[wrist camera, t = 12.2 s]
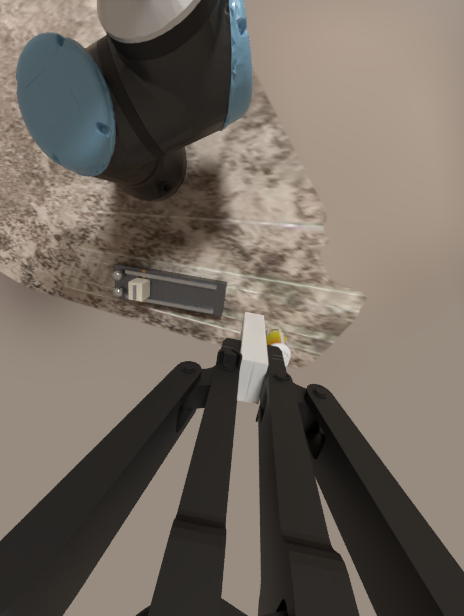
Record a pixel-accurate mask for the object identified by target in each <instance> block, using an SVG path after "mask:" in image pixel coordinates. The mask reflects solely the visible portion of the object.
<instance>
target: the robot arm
mask: <svg viewBox="0 0 464 616" xmlns="http://www.w3.org/2000/svg"><path fill="white" fill-rule="evenodd" d="M97 11H98V17H99V20H100V23H101V25H102V27H103V28H104V30H105V32H106V34H107V35H106V36H104V37H103V38H101V39H100V40H98V41H96V42H95V43H93V44H92V45H90V46H89V47H87V48H84V47H83V46H81V45H80V44H79V43H78V42H76V41H75V40H73V39H70V38H65V37H63V36H61V35H60V34H57V33H42V34H39V35H37V36H35V37H34V38H32V39H31V40H30V41H29V42H28V43H27V44H26V46H25V47H24V49H23V51H22V53H21V55H20V57H19V60H18V65H17V71H16V79H17V84H18V87H17V99H18V104H19V108H20V111H21V114H22V117H23V119H24V122H25V124H26V127H27V129H28V130H29V132H30V134H31V136H32V137H33V139H34V141H35V142H36V143H37V145H38V146H39V147H40V148H41V150H42V151H43V152H44V153H45V154H46V155H47V156H48V157H49V158H51V159H52V160H53V161H55V162H56V163H58V164H59V165H61V166H63V167H65V168H67V169H70V170H73V171H75V172H76V173H78V174H80V175H83V176H88V177H89V176H92V177H95V178H99V179H103V180H107V181H110V182H114V183H118V184H119V185H120V186H121V187H122V188H123V189H124V190H125V191H126V192H127V193H129V194H130V195H132V196H134V197H136V198H138V199H141V200H146V201H161V200H164V199H167V198H168V197H170V196H171V195H173V194H174V193H175V192H176V191H177V190H178V188H179V187H180V185H181V184H182V181H183V179H184V176H185V172H186V163H187V162H186V152H185V146H187V145H189V144H191V143H193V142H196V141H198V140H200V139H202V138H204V137H206V136H208V135H210V134H213V133H215V132H217V131H222V130H223V129H225V128H226V127H227V125H229V124H231V123H233V122H235V121H236V120H238V119H240V118H242V117H243V116H244V115H245V114H246V112H247V110H248V109H249V106H250V103H251V97H252V61H251V49H250V40H249V35H248V32H247V29H246V28H247V22H246V12H245V6H244V0H97ZM259 399H260V407H259V410H258V414H257V418H256V422H257V421H258V424H259V425H258V427H259V482H260V483H259V487H260V543H261V589H260V597H259V608H258V616H359V613H358V609H357V605H356V601H355V597H354V594H353V590H352V586H351V582H350V578H349V575H348V572H347V569H346V566H345V563H344V561H343V559H342V557H341V555H340V554H339V553H337V552H336V551H335V550H334V549H333V548H332V546H331V543H330V539H329V535H328V531H327V527H326V522H325V518H324V514H323V509H322V505H321V501H320V497H319V493H318V488H317V484H316V480H317V482H318V484H319V486H320V489H321V491H322V493H323V495H324V498H325V500H326V502H327V504H328V507H329V509H330V511H331V513H332V516H333V518H334V520H335V522H336V525H337V527H338V529H339V531H340V534H341V536H342V538H343V540H344V543H345V545H346V547H347V549H348V552H349V554H350V556H351V558H352V560H353V563H354V565H355V567H356V569H357V572H358V574H359V576H360V579H361V581H362V583H363V585H364V588H365V590H366V592H367V594H368V596H369V599H370V601H371V603H372V605H373V607H374V610H375V612H376V614H377V616H464V572H463V570H462V569H461V568H460V566H459V565H458V563H457V562H456V561H455V559H454V558H453V557H452V555H451V554H450V553H449V552H448V550H447V549H446V547H445V546H444V545H443V543H442V542H441V540H440V539H439V538H438V536H437V535H436V534H435V532H434V531H433V530H432V528H431V527H430V526H429V525H428V523H427V522H426V520H425V519H424V518H423V516H422V515H421V513H420V512H419V511H418V509H417V508H416V507H415V505H414V504H413V503H412V501H411V500H410V499H409V497H408V496H407V495H406V493H405V492H404V490H403V489H402V488H401V486H400V485H399V484H398V482H397V481H396V480H395V478H394V477H393V476H392V474H391V473H390V472H389V470H388V469H387V467H386V466H385V465H384V464H383V462H382V461H381V459H380V458H379V457H378V455H377V454H376V453H375V451H374V450H373V449H372V447H371V446H370V445H369V443H368V442H367V440H366V439H365V438H364V436H363V435H362V434H361V432H360V431H359V430H358V428H357V427H356V426H355V424H354V423H353V422H352V420H351V419H350V418H349V416H348V415H347V414H346V412H345V411H344V410H343V408H342V407H341V405H340V404H339V403H338V401H337V400H336V399H335V397H334V396H333V395H332V393H331V392H330V391H329V390H328V389H326V388H325V387H323V386H321V385H317V384H310V385H308V386H307V389H306V388H303V387H301V386H299V385H296V384H295V383H293V381H292V378H291V376H290V375H289V374H288V373H287V372H286V368H285V363H284V358H283V354H282V351H281V350H280V348H279V347H277V346H272V345H267V344H266V333H265V323H264V315H259V314H253V313H248V312H245V315H244V320H243V326H242V331H241V336H240V340H236V339H231V338H226V339H225V340H224V341H223V343H222V347H221V349H220V350H219V352H218V355H217V362H216V365H215V366H214V367H212V368H208V369H201V366H200V365H199V364H197V363H195V362H191V361H185V362H182V363H180V364H178V365H177V366H176V367H175V368H174V369H173V370H172V371H171V372H170V373H169V374H168V375H167V376H166V377H165V378H164V379H163V380H162V381H161V382H160V383H159V384H158V385H157V386H156V387H155V388H154V389H153V390H152V391H151V392H150V393H149V394H148V395H147V396H146V397H145V398H144V399H143V400H142V401H141V402H140V403H139V404H138V405H137V406H136V407H135V408H134V409H133V410H132V411H131V412H130V413H129V414H128V415H127V416H126V417H125V418H124V419H123V420H122V421H121V422H120V423H119V424H118V425H117V426H116V427H115V428H114V429H113V430H112V431H111V432H110V433H109V434H108V435H107V436H106V437H105V438H104V439H103V440H102V441H101V442H100V443H99V444H98V445H97V446H96V447H95V448H94V449H93V450H92V451H91V452H90V453H89V454H87V455H86V456H85V458H83V459H82V460H81V461H80V462H79V464H77V465H76V466H75V468H73V469H72V470H71V471H70V472H69V473H68V474H67V475H66V477H65V478H63V480H61V481H60V482H59V483H58V484H57V485H56V486H55V487H54V488H53V489H52V490H51V491H50V493H48V494H47V495H46V496H45V497H44V498H43V499H42V500H41V501H40V502H39V503H38V504H37V505H36V506H35V507H34V508H33V509H32V510H31V511H30V512H29V513H28V514H27V515H26V516H25V517H24V518H23V519H22V520H21V521H20V522H19V523H18V524H17V525H16V526H15V527H14V528H13V529H12V530H11V531H10V532H9V533H8V534H7V535H6V536H5V537H4V538H3V539H2V540H1V541H0V616H63V614H64V613H65V611H66V609H67V608H68V607H69V606H70V604H71V603H72V601H73V600H74V598H75V597H76V595H77V594H78V592H79V591H80V589H81V588H82V586H83V585H84V583H85V582H86V580H87V579H88V577H89V575H90V574H91V572H92V571H93V569H94V568H95V566H96V565H97V563H98V561H99V560H100V558H101V557H102V555H103V554H104V552H105V551H106V549H107V547H108V546H109V545H110V543H111V541H112V540H113V538H114V536H115V535H116V534H117V532H118V531H119V529H120V527H121V526H122V524H123V523H124V521H125V520H126V518H127V517H128V515H129V514H130V512H131V511H132V509H133V508H134V506H135V504H136V503H137V501H138V500H139V498H140V497H141V495H142V493H143V492H144V490H145V489H146V487H147V486H148V484H149V483H150V481H151V480H152V478H153V477H154V475H155V474H156V472H157V470H158V469H159V467H160V466H161V464H162V463H163V461H164V460H165V458H166V457H167V455H168V453H169V452H170V450H171V449H172V447H173V446H174V444H175V443H176V441H177V440H178V438H179V436H180V435H181V433H182V431H183V430H184V429H185V427H186V426H187V424H188V423H189V421H190V419H191V418H192V416H193V415H194V413H195V411H196V409H197V408H205V409H204V413H203V417H202V421H201V424H200V428H199V432H198V436H197V440H196V443H195V447H194V451H193V455H192V459H191V463H190V466H189V470H188V474H187V478H186V482H185V485H184V489H183V493H182V497H181V501H180V505H179V508H178V512H177V515H176V518H175V519H174V522H173V525H172V528H171V531H170V535H169V539H168V543H167V546H166V550H165V553H164V557H163V561H162V565H161V569H160V572H159V576H158V580H157V584H156V587H155V591H154V595H153V598H152V602H151V605H150V606H148V607H147V608H145V609H144V610H142V611H141V612H140V613H139V614H137V615H136V616H247V615H246V614H244V613H243V612H241V611H240V610H238V609H237V608H235V607H234V606H232V605H231V604H229V603H228V602H226V601H225V600H223V599H222V598H221V593H222V581H223V570H224V558H225V546H226V525H225V524H226V513H227V502H228V491H229V479H230V469H231V459H232V448H233V437H234V426H235V415H236V405H237V400H240V401H246V402H251V403H256V404H258V403H259ZM315 477H316V480H315Z"/></svg>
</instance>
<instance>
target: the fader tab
mask: <svg viewBox="0 0 464 616" xmlns="http://www.w3.org/2000/svg"><path fill="white" fill-rule="evenodd" d="M128 287H129V300H135V301H140V302H142V301H144V300H145V299H147V298H148V297H149V296H150V280H148V279H143V278H136V279H133V280H131V281H129V282H128Z"/></svg>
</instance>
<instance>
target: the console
mask: <svg viewBox="0 0 464 616" xmlns="http://www.w3.org/2000/svg"><path fill="white" fill-rule="evenodd" d="M112 278H113V279H114V280H115V289H113V291H112V293H113V295H114V296H115V297H117V298H122V299H128V300H129V287H128V282H129V281H131V280H133V279H136V278H143V279H148V280H150V296H149V297H148V298H147V299H145V300H144V301H142V302H144V303H150V304H155V305H161V306H166V307H172V308H177V309H183V310H188V311H194V312H200V313H205V314H211V315H216V316H222V313H223V307H224V300H225V293H226V287H227V282H224V281H218V280H213V279H207V278H201V277H196V276H190V275H184V274H179V273H173V272H167V271H162V270H156V269H150V268H145V267H139V266H133V265H128V264H122V263H117V264H114V272H113V273H112ZM133 301H135V300H133ZM139 302H140V301H139Z"/></svg>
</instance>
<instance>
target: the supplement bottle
mask: <svg viewBox="0 0 464 616" xmlns="http://www.w3.org/2000/svg"><path fill="white" fill-rule="evenodd" d="M266 344H267V345H272V346H277V347H279V348H280V350H281V351H282V354H283V358H284V363H285V367H286V366H287V365H288V363H289V360H290V358H291V351H290V347H289V344H288V340H287V337H286V334H285V333H284V332H283V331H282V330H280V329H271V330H269V331H267V332H266Z"/></svg>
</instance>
